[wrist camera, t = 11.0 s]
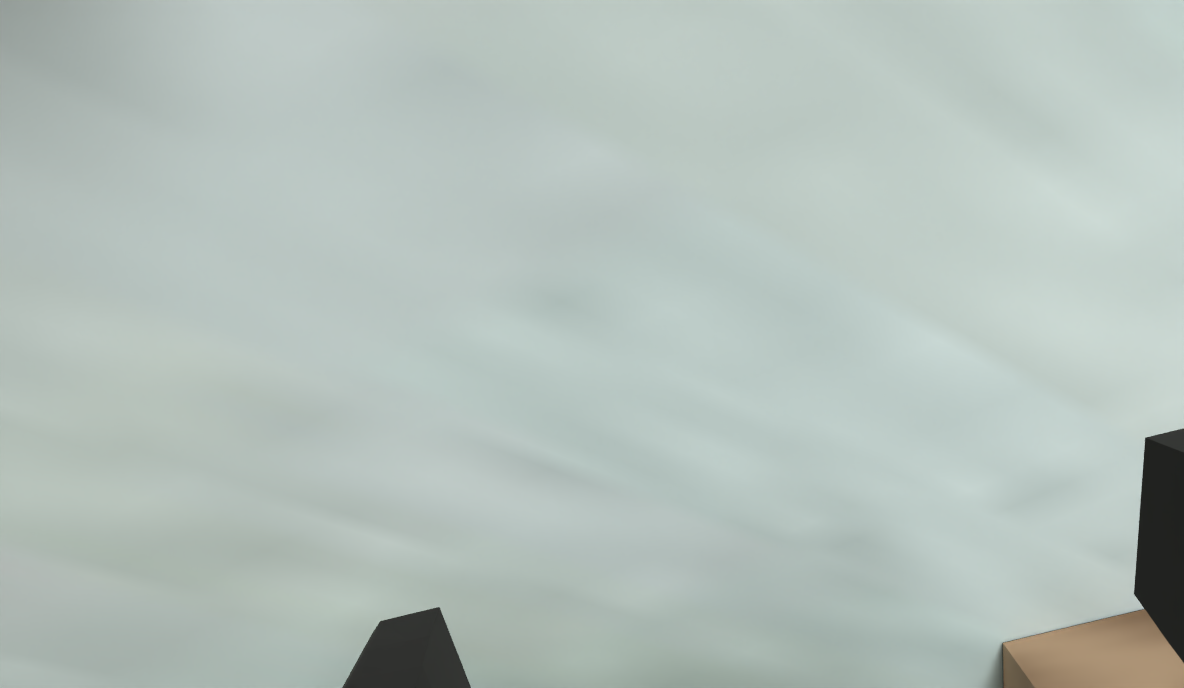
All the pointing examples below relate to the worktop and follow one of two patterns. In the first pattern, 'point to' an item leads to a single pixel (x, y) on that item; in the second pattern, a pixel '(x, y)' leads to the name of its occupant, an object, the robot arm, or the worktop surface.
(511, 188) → the worktop surface
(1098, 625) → the walnut block
